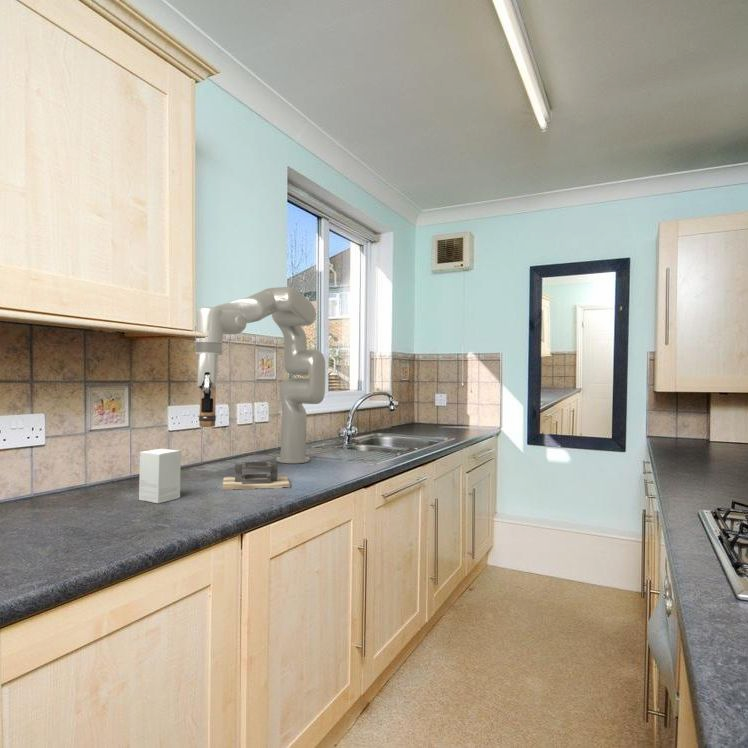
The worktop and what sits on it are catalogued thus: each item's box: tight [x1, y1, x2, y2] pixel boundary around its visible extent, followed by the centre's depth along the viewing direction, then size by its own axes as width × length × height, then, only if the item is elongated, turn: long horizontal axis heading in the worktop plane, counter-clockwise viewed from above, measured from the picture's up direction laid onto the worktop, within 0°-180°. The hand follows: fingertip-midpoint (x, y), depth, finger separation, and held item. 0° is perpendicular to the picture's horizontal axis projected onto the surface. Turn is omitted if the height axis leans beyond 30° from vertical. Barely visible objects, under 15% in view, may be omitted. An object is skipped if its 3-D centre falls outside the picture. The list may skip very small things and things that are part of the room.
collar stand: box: [222, 461, 291, 491], centre depth 151 cm, size 13×19×6 cm
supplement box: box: [138, 448, 182, 504], centre depth 131 cm, size 7×7×13 cm
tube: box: [198, 385, 217, 428], centre depth 148 cm, size 5×5×12 cm
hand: (207, 411), depth 148 cm, fingers closed on tube, 4 cm apart
